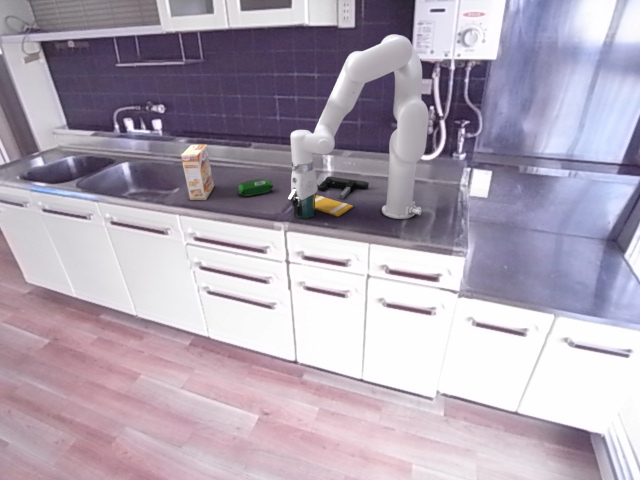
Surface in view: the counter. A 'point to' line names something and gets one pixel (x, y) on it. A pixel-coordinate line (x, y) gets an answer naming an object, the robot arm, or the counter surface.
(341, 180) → the black toy gun
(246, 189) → the snack package
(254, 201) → the counter surface
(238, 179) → the counter surface
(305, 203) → the teal mug
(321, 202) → the towel
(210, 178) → the coffeecake box
